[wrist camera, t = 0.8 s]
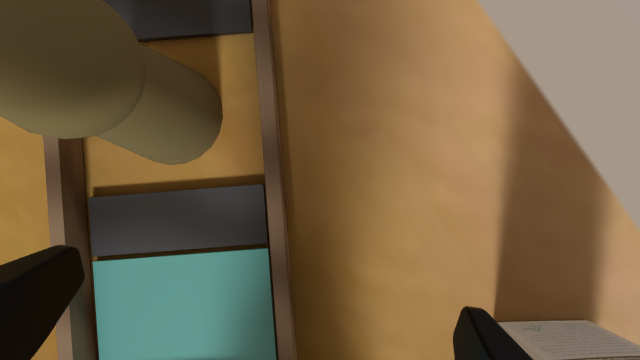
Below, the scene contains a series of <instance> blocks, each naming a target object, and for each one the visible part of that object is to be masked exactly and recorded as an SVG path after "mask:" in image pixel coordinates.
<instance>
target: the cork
mask: <svg viewBox="0 0 640 360" xmlns="http://www.w3.org/2000/svg"><path fill="white" fill-rule="evenodd" d="M0 116H2V117H3V118H5V119H7V120H8V121H10V122H12V123H14V124H15V125H17V126H19V127H21V128H23V129H25V130H26V131H28V132H31V133H36V134H40V135H45V136H49V137H54V138H60V139H73V138H83V137H91V136H98V137H100V138H102V139H105V140H107V141H109V142H111V143H114V144H116V145H118V146H120V147H123V148H125V149H127V150H129V151H132V152H134V153H136V154H138V155H141V156H143V157H145V158H148V159H150V160H152V161H154V162H159V163H163V164H168V165H174V164H184V163H187V162H190V161H192V160H194V159H196V158H199V157H200V156H201V155H203V154H204V153H205V152H206V151H207V150H208V149H209V148H210V147H211V146H212V145H213V143H214V141H215V140H216V138H217V136H218V135H219V132H220V128H221V123H222V119H223V117H222V106H221V101H220V99H219V96H218V94H217V92H216V89H215V88H214V87H213V86H212V84H211V83H210V82H209V81H208V80H207V79H206V78H205V77H204V76H203V75H201V74H199V73H198V72H196V71H194V70H192V69H191V68H189V67H187V66H185V65H183V64H180V63H178V62H176V61H174V60H172V59H170V58H168V57H166V56H164V55H162V54H160V53H158V52H156V51H154V50H152V49H150V48H148V47H146V46H144V45H142V44H140V43H139V42H138V40H137V38H136V36H135V34H134V32H133V30H132V29H131V27H130V26H129V25H128V24H127V23H126V22H125V21H124V19H123V18H122V17H121V16H120V15H119V14H118V13H117V12H116V11H115V10H114V9H113V8H112V7H111V6H110V5H109V4H107V3H106V2H104V1H102V0H0Z"/></svg>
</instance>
